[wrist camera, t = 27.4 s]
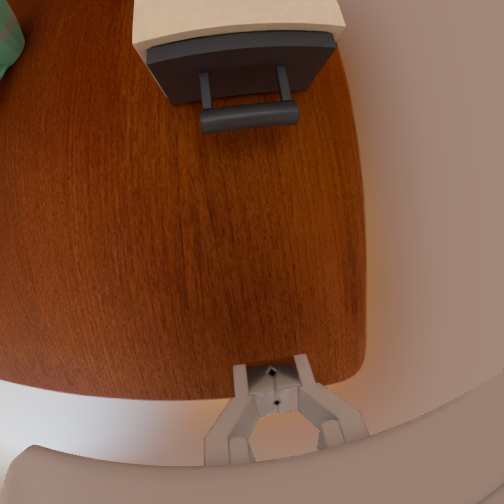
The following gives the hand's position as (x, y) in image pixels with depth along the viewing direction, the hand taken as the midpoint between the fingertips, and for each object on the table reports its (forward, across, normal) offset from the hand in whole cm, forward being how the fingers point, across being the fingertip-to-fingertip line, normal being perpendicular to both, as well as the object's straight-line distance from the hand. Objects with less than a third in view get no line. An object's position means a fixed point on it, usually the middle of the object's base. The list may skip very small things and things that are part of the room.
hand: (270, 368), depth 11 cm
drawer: (+18, -1, -16) cm, 24 cm away
